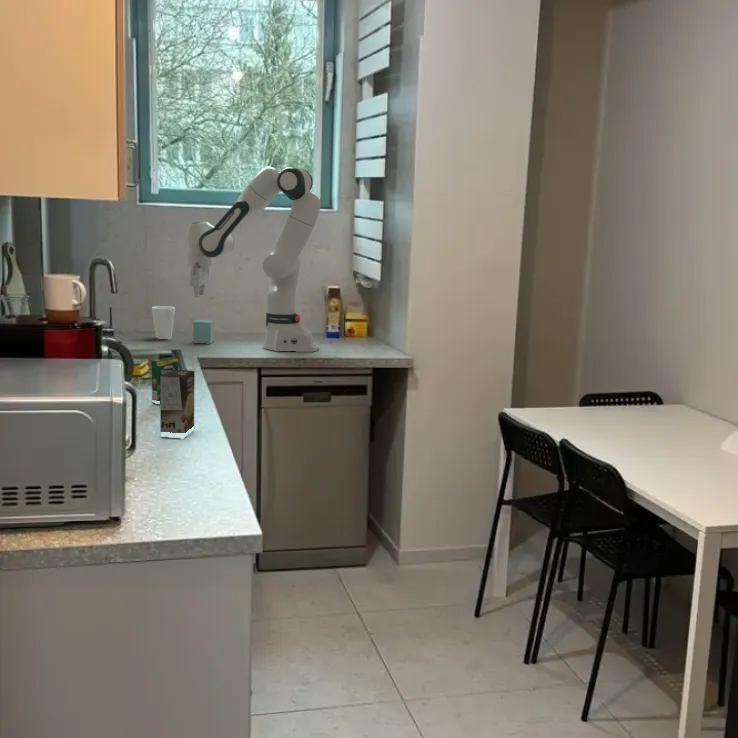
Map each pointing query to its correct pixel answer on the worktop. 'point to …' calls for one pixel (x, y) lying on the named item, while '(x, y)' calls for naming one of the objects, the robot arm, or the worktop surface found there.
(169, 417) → the coffee box
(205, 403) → the worktop surface
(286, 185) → the robot arm
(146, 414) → the worktop surface
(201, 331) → the grey-teal block
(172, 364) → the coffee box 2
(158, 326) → the foam cup
